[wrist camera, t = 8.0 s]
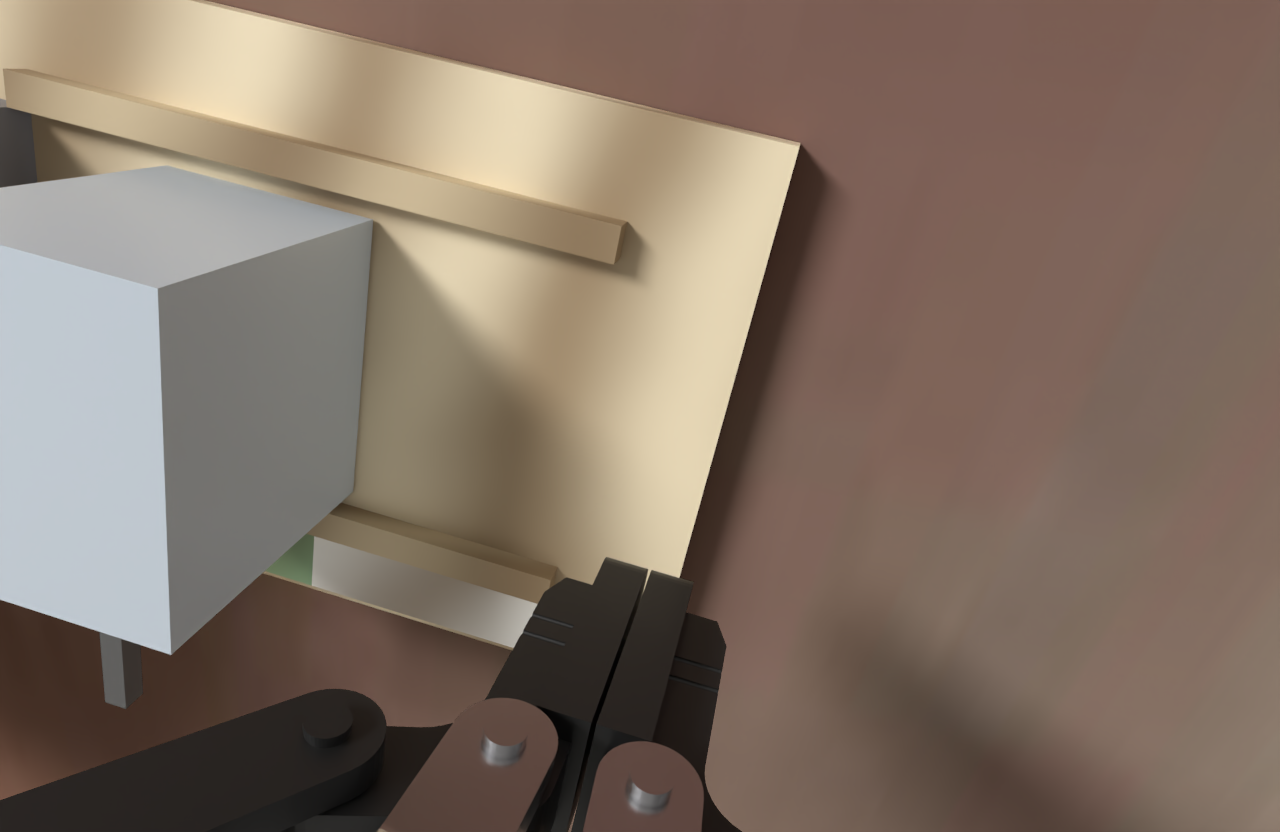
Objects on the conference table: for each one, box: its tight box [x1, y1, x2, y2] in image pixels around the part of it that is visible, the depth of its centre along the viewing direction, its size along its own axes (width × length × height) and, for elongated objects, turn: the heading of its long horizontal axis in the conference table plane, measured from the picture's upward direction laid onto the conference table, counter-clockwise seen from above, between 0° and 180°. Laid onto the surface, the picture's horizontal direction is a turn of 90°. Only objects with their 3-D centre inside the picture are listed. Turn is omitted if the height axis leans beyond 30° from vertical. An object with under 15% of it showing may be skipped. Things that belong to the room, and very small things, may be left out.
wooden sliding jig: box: [0, 0, 800, 650], centre depth 17 cm, size 20×14×8 cm
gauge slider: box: [0, 165, 373, 709], centre depth 18 cm, size 7×10×6 cm, turn 168°
